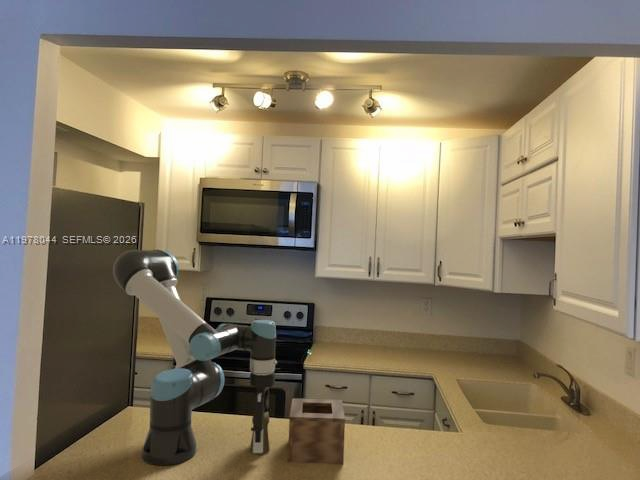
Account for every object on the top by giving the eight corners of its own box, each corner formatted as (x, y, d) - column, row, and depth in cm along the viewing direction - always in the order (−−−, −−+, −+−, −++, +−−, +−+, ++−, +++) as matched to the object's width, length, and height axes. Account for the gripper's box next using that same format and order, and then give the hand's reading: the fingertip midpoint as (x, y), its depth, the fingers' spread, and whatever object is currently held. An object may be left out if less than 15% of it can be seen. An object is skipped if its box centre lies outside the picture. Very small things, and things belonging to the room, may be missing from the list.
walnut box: (287, 462, 130) (289, 416, 131) (291, 438, 146) (292, 398, 147) (343, 464, 131) (344, 418, 131) (340, 440, 147) (341, 399, 147)
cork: (250, 455, 134) (252, 418, 134) (248, 446, 139) (249, 410, 140) (271, 453, 135) (272, 416, 135) (268, 445, 141) (269, 409, 141)
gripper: (270, 384, 125) (268, 461, 125) (278, 361, 150) (276, 426, 150) (243, 383, 125) (241, 461, 125) (255, 361, 150) (254, 425, 150)
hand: (260, 442), depth 137 cm, fingers open, 13 cm apart
